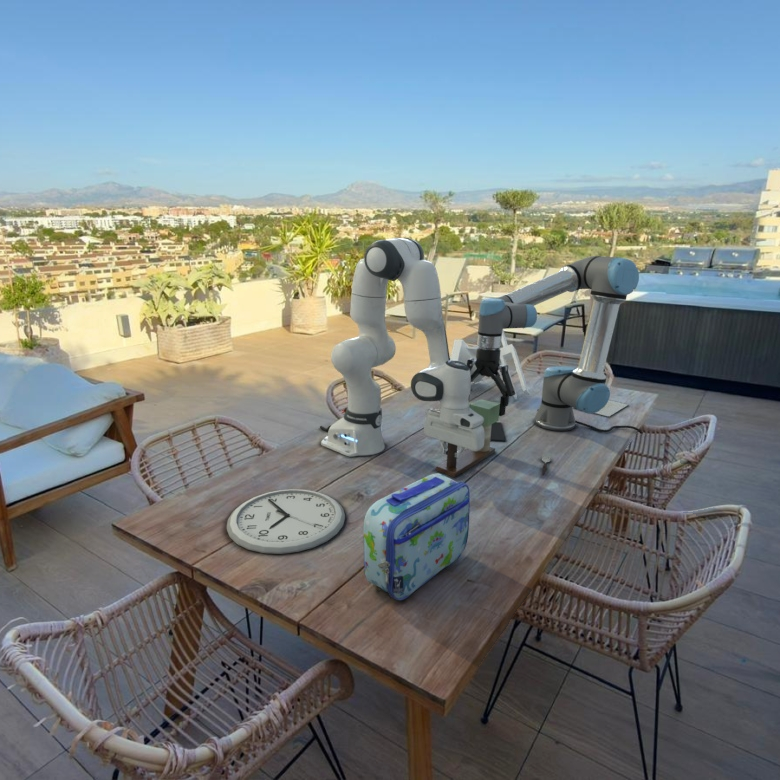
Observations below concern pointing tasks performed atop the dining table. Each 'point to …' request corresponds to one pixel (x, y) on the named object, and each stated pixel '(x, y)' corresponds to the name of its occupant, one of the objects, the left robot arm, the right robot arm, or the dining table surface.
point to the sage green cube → (486, 411)
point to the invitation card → (611, 408)
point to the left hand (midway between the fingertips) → (451, 455)
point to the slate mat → (497, 432)
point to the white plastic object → (507, 353)
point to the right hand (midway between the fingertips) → (483, 410)
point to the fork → (545, 461)
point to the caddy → (465, 456)
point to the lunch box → (415, 534)
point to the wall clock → (285, 521)
